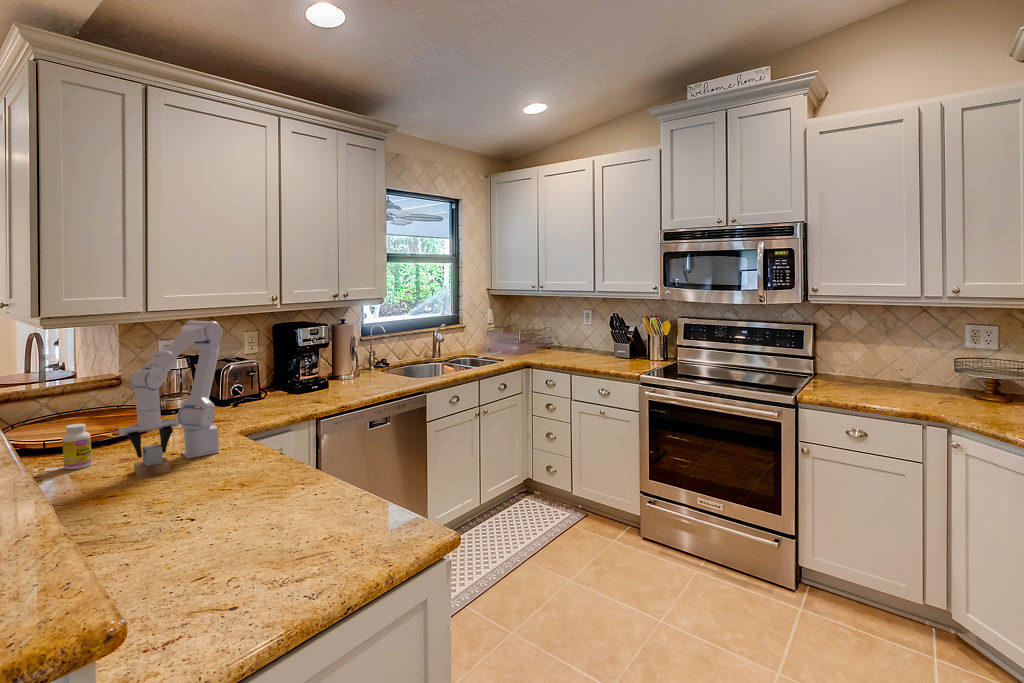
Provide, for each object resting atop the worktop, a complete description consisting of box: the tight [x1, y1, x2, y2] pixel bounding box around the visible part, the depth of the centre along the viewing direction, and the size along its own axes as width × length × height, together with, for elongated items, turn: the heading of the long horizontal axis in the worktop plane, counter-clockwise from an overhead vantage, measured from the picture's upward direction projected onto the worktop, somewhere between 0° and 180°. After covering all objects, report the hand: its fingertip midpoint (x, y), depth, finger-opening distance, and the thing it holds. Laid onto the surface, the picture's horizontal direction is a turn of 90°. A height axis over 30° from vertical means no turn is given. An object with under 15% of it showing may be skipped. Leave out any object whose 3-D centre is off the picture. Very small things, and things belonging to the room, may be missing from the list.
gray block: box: [141, 444, 164, 466], centre depth 156 cm, size 4×4×5 cm
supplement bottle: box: [61, 423, 93, 471], centre depth 159 cm, size 7×7×13 cm
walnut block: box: [133, 456, 172, 480], centre depth 156 cm, size 8×8×3 cm
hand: (151, 454), depth 156 cm, fingers open, 5 cm apart
